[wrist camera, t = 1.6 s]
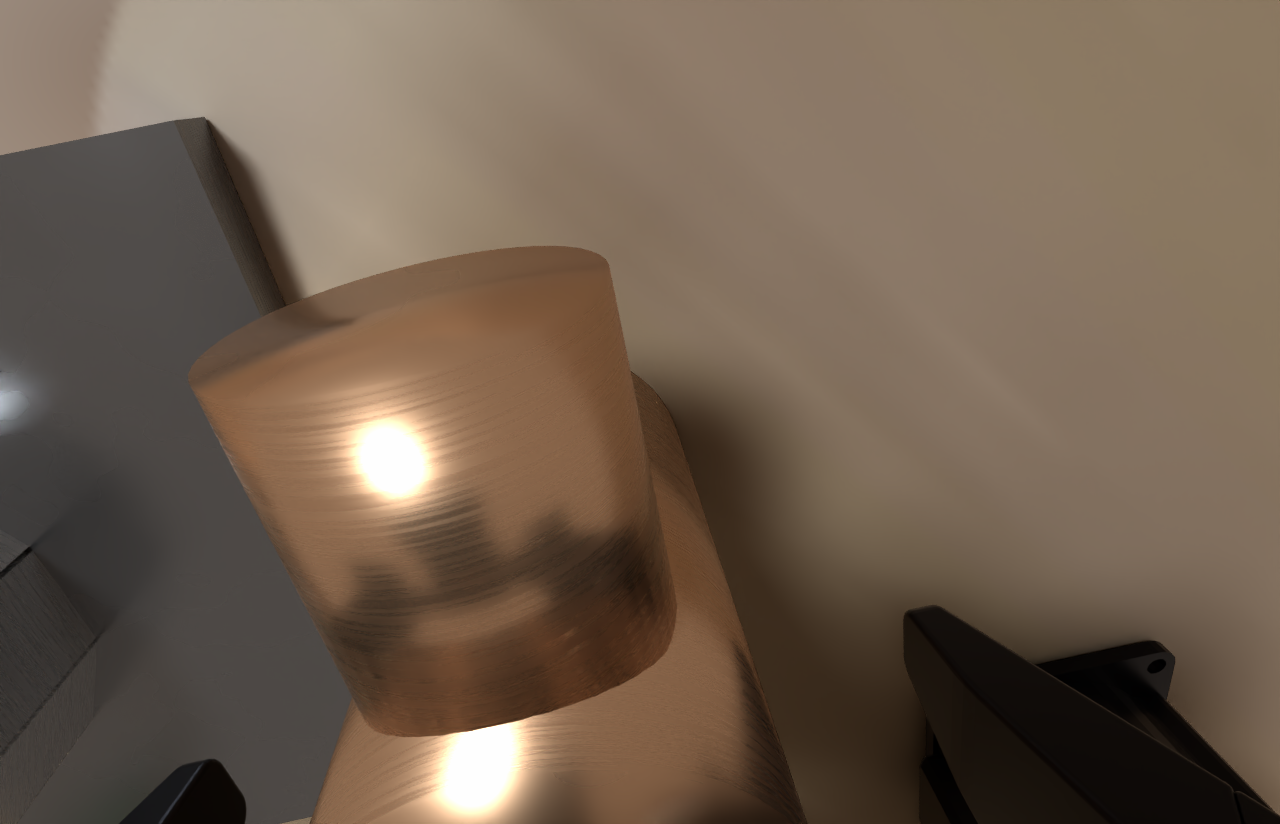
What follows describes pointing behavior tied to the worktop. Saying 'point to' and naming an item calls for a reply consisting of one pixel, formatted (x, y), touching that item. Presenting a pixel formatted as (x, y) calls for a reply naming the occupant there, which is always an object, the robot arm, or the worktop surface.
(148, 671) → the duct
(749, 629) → the worktop surface
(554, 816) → the elbow
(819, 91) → the worktop surface
